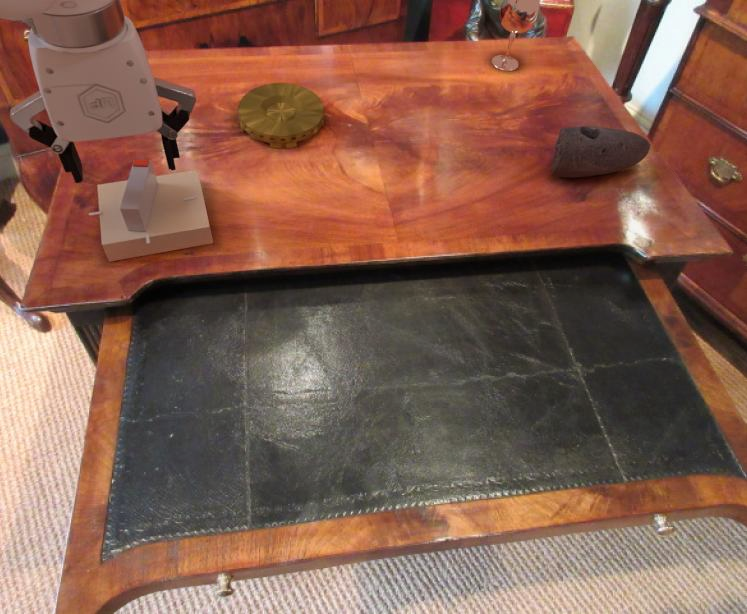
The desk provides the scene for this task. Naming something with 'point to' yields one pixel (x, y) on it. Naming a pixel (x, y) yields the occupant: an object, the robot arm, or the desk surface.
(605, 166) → the perforated stone tool
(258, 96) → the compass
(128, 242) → the tap plate
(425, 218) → the desk surface
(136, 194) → the grey rectangular block
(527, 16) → the wineglass
